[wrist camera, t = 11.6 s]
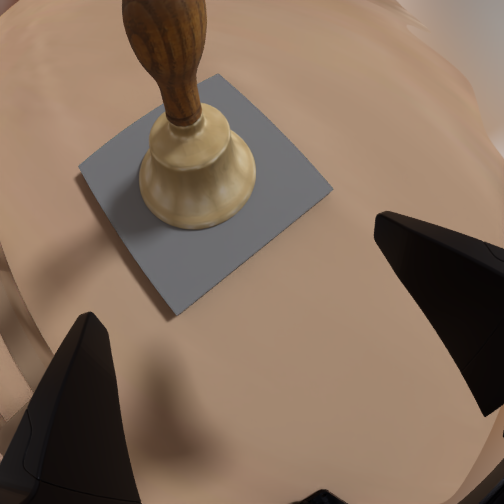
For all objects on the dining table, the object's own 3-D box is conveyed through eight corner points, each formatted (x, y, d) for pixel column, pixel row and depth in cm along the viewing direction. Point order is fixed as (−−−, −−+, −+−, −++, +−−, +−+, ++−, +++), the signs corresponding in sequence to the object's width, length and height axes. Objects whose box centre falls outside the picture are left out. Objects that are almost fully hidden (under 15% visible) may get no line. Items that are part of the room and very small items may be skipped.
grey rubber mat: (328, 193, 20) (333, 189, 19) (179, 314, 18) (176, 315, 17) (218, 80, 21) (218, 73, 20) (83, 171, 19) (78, 166, 18)
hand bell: (265, 220, 18) (389, 0, 3) (143, 238, 17) (-46, 86, 2) (246, 118, 19) (279, -80, 4) (139, 134, 18) (65, -46, 3)
